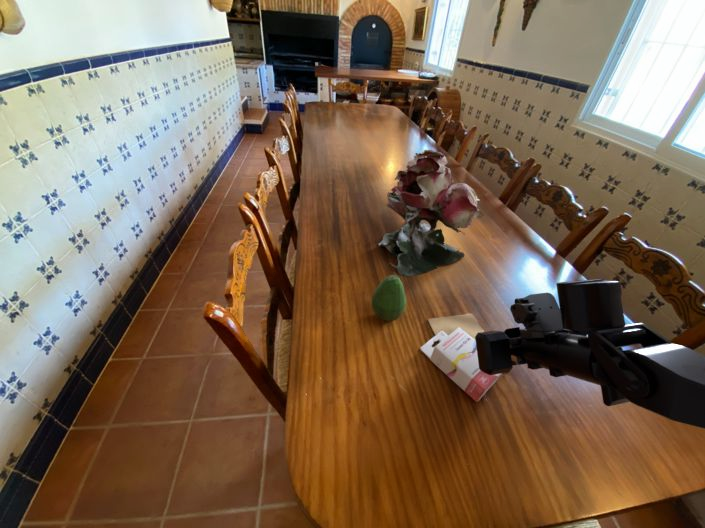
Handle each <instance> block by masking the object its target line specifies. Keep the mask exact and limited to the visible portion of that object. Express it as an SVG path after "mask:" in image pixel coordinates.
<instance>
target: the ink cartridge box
mask: <svg viewBox="0 0 705 528" xmlns="http://www.w3.org/2000/svg"><path fill="white" fill-rule="evenodd" d="M438 340H440V341H441V342H440V343H437V344H436V345H435V346H433V345H434V343H435V342H438ZM420 351H421V352H422V353H423V354H424V355H425V356H426V357H427V358H428V359H429V361H430V362H432V364H433V365H435V367H437V368H438V369H440V371H441V372H442V373H444V374H445V375H446V376H447V378H449V379H450V380H451V381H452V382H454V384H456V385H457V386H458V387H459V388H460V389H461V390H462V391H464V393H465V394H467V395H468V396H469V397H470V398H471V399H472V400H473V401H475V402H476V403H478V402H479V401H480V400H481V399H482V397H484V396H485V394H486V393H487V392H488V391H489V390H490V389H491V388H492V386H493V385H494V384H495V383H496V382H497V381H498V379H500V377H501V376H502V374H503V373H501V374H495V375H488V374H486V373H484V372H482V371H481V370H480V369H479V363H478V355H477V347H476V340H475V339H473V338H472V337H471V336H469V335H468V334H467V333H466V332H464V331H463V330H462V329H461V328H459V327H458V328H457V329H456V330H454V331H453V332H452V333H451V334H450V335H449V336H448V335H447V334H446V333H445V332H443V331H440V332H439V333H438V334H437V335H433V337H432V338H430V339H429V340H428V341H426V343H424V344H423V345H422V346H420Z"/></svg>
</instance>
